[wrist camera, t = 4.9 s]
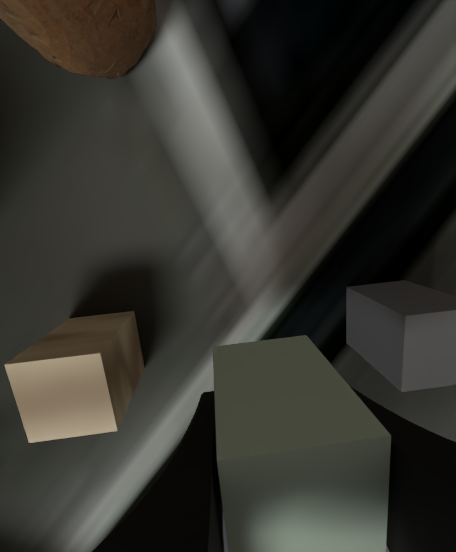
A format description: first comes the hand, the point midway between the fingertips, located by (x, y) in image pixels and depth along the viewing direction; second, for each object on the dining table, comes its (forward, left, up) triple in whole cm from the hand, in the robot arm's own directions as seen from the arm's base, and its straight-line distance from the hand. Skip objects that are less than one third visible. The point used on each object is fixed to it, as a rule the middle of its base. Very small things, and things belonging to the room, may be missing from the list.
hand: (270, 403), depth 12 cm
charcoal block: (0, -10, -8) cm, 13 cm away
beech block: (0, +10, -8) cm, 13 cm away
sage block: (0, 0, -2) cm, 2 cm away
